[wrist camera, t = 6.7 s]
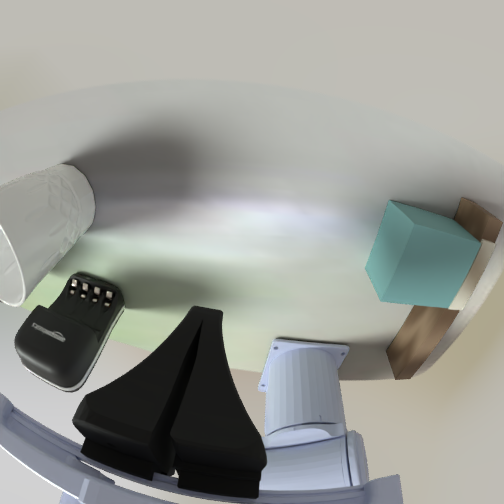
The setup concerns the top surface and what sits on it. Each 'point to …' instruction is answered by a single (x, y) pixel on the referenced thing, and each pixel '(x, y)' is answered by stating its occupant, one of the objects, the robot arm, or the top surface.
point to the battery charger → (70, 332)
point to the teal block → (419, 257)
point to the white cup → (40, 226)
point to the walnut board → (439, 319)
